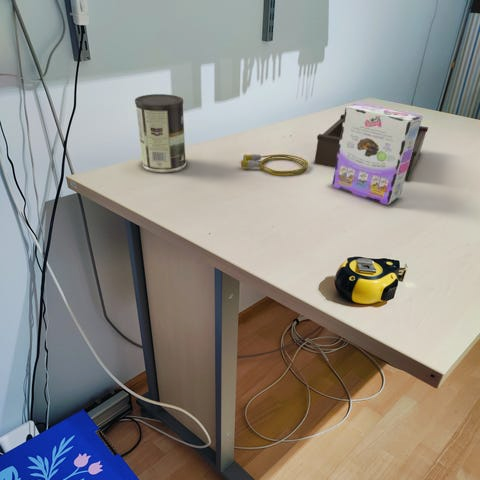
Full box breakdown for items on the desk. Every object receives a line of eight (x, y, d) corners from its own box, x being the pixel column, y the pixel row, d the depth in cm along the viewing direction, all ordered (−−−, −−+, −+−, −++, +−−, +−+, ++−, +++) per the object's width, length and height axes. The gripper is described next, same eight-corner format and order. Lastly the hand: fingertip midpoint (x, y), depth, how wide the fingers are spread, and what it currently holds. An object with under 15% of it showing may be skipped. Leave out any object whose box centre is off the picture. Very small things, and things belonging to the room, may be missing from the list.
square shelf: (420, 153, 113) (428, 127, 109) (408, 181, 97) (416, 152, 93) (337, 139, 120) (342, 114, 116) (313, 163, 104) (317, 135, 100)
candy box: (400, 198, 89) (424, 115, 79) (387, 206, 86) (410, 120, 76) (344, 180, 96) (360, 100, 86) (330, 186, 93) (344, 105, 83)
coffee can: (179, 155, 105) (175, 92, 96) (191, 170, 98) (189, 103, 89) (137, 159, 102) (130, 94, 93) (147, 175, 94) (140, 106, 85)
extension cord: (253, 153, 108) (253, 145, 107) (312, 163, 104) (314, 155, 103) (235, 168, 99) (235, 159, 98) (299, 180, 95) (300, 171, 94)
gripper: (497, -127, 83) (458, 8, 96) (504, -157, 65) (455, 13, 78) (540, -128, 81) (494, 10, 94) (560, -160, 63) (499, 16, 76)
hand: (476, 11), depth 86 cm, fingers open, 13 cm apart
